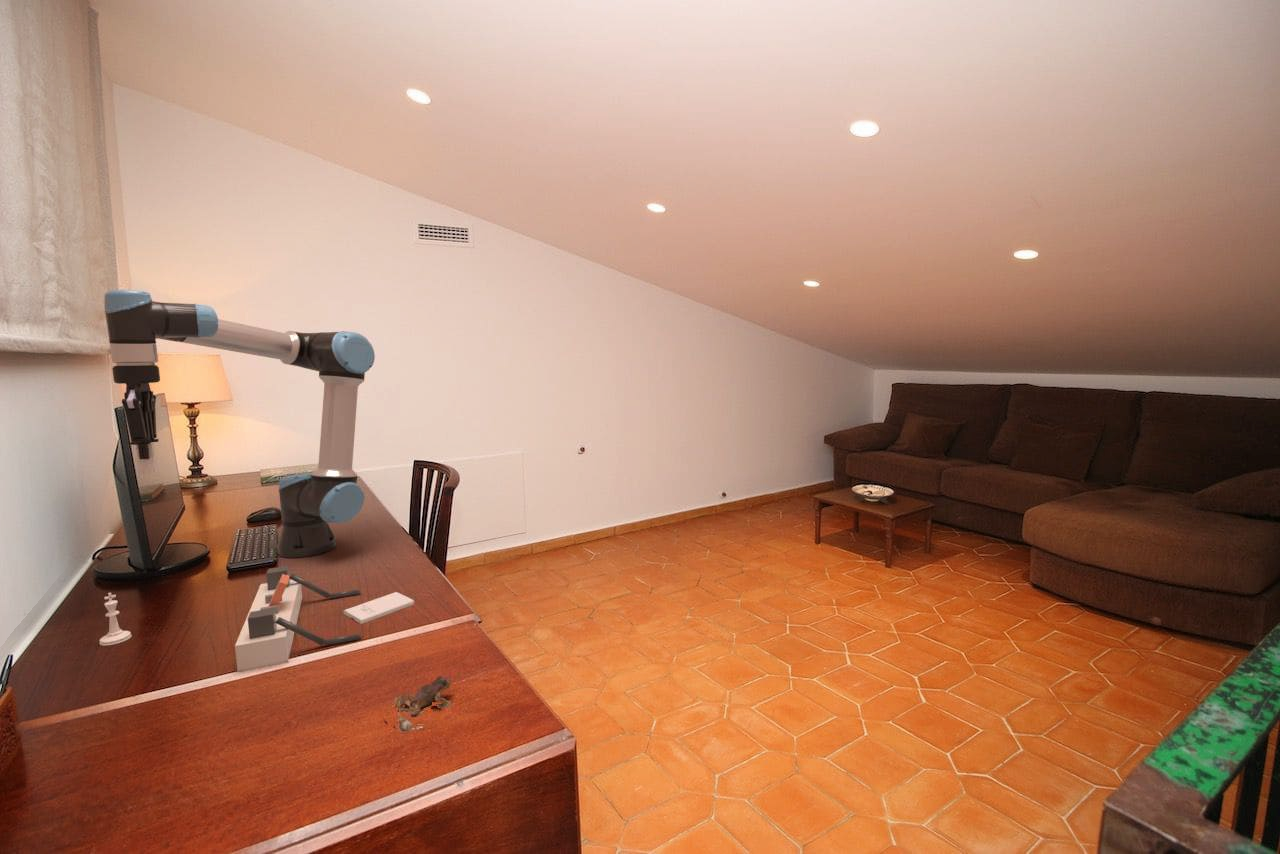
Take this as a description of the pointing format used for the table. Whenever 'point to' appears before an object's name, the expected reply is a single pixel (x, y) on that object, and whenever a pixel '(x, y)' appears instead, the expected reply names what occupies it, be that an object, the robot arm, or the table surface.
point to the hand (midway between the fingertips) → (148, 473)
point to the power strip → (278, 622)
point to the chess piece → (113, 625)
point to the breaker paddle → (279, 590)
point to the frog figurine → (421, 701)
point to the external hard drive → (378, 607)
